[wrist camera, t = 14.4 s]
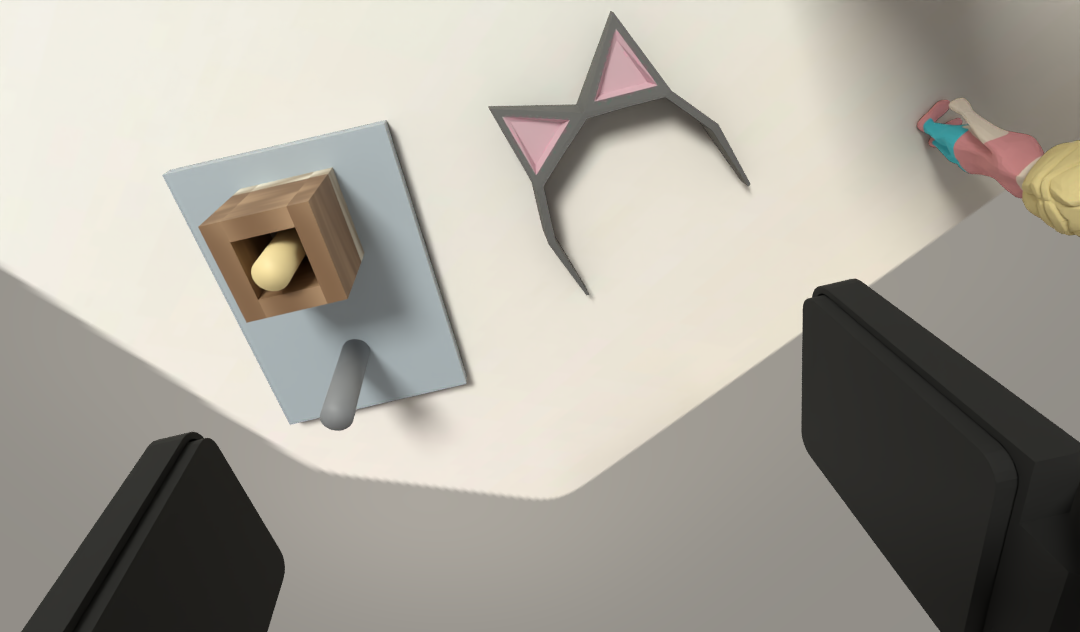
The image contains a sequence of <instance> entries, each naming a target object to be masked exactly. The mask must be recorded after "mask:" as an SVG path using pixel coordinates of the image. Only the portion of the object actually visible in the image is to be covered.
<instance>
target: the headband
mask: <svg viewBox="0 0 1080 632" xmlns="http://www.w3.org/2000/svg"><path fill="white" fill-rule="evenodd" d="M664 97H666V98H667V99H669V100H670V101H671V102H673V103H674V104H676V105H677V106H679V107H680V108H681V109H683V110H684V111H686V112H687V113H689V114H690V115H691V116H693V117H694V118H696V119H697V120H698V121H699V122H700V123H701V124H702V126H703V127H704V129H705V130H706V131H707V133H708V134H709V136H710V137H711V138H712V140H713V141H714V143H715V144H716V146H717V147H718V148H719V150H720V151H721V153H722V154H723V155H724V157H725V158H726V160H727V161H728V162H729V164H730V165H731V167H732V168H733V170H734V171H735V172H736V174H737V175H738V177H739V178H740V179H741V181H743V182H744V183H745V184H746V185H747V186H749V185H750V182H749V180H748V178H747V177H746V175H745V173H744V171H743V169H742V167H741V166H740V164H739V162H738V160H737V158H736V156H735V154H734V153H733V151H732V149H731V147H730V145H729V143H728V141H727V140H726V138H725V136H724V134H723V132H722V130H721V128H720V127H719V125H718V124H717V123H716V122H714V121H713V120H711V119H710V118H709V117H707V116H706V115H704V114H703V113H702V112H700V111H699V110H697V109H696V108H695V107H693V106H692V105H690V104H689V103H688V102H686V101H685V100H683V99H682V98H681V97H679V96H678V95H676V94H675V93H674V92H672V91H671V90H670V88H669V87H668V86H667V84H666V83H665V82H664V80H663V79H662V77H661V76H660V75H659V73H658V72H657V71H656V69H655V68H654V67H653V65H652V64H651V63H650V61H649V60H648V59H647V57H646V56H645V55H644V53H643V52H642V50H641V49H640V48H639V46H638V45H637V44H636V42H635V41H634V40H633V38H632V37H631V36H630V34H629V33H628V32H627V30H626V29H625V28H624V26H623V25H622V23H621V22H620V21H619V19H618V18H617V17H616V15H615V14H614V13H613V12H612V11H610V14H609V17H608V19H607V22H606V25H605V28H604V30H603V33H602V36H601V38H600V41H599V44H598V47H597V49H596V52H595V55H594V58H593V60H592V63H591V66H590V69H589V71H588V74H587V77H586V79H585V82H584V85H583V88H582V90H581V93H580V96H579V99H578V101H577V104H576V105H535V106H488V107H489V109H490V111H491V113H492V114H493V116H494V118H495V120H496V121H497V123H498V125H499V126H500V128H501V130H502V132H503V133H504V135H505V137H506V138H507V140H508V142H509V144H510V145H511V147H512V149H513V150H514V152H515V154H516V156H517V157H518V159H519V161H520V162H521V164H522V166H523V168H524V169H525V171H526V173H527V174H528V176H529V178H530V180H531V182H532V186H533V190H534V194H535V199H536V203H537V207H538V211H539V215H540V220H541V224H542V228H543V231H544V234H545V236H546V238H547V241H548V243H549V245H550V246H551V248H552V249H553V251H554V252H555V253H556V255H557V256H558V257H559V259H560V260H561V261H562V263H563V264H564V265H565V267H566V268H567V269H568V271H569V272H570V273H571V275H572V276H573V278H574V279H575V280H576V282H577V283H578V284H579V286H580V287H581V288H582V290H583V291H584V292H585V294H586V295H589V293H588V291H587V289H586V287H585V285H584V283H583V282H582V280H581V278H580V277H579V275H578V273H577V272H576V270H575V269H574V267H573V265H572V264H571V262H570V260H569V259H568V257H567V255H566V254H565V252H564V250H563V249H562V247H561V245H560V244H559V242H558V241H557V239H556V237H555V236H554V232H553V227H552V223H551V218H550V214H549V209H548V205H547V200H546V196H545V191H544V185H545V183H546V182H547V180H548V178H549V177H550V175H551V174H552V172H553V170H554V169H555V167H556V165H557V164H558V162H559V161H560V159H561V157H562V156H563V154H564V153H565V151H566V150H567V148H568V147H569V145H570V144H571V142H572V141H573V139H574V138H575V136H576V135H577V133H578V132H579V130H580V129H581V127H582V126H583V124H584V123H585V121H586V120H587V119H588V118H591V117H595V116H598V115H601V114H605V113H608V112H612V111H615V110H619V109H622V108H625V107H629V106H633V105H637V104H641V103H645V102H648V101H652V100H656V99H660V98H664Z"/></svg>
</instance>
